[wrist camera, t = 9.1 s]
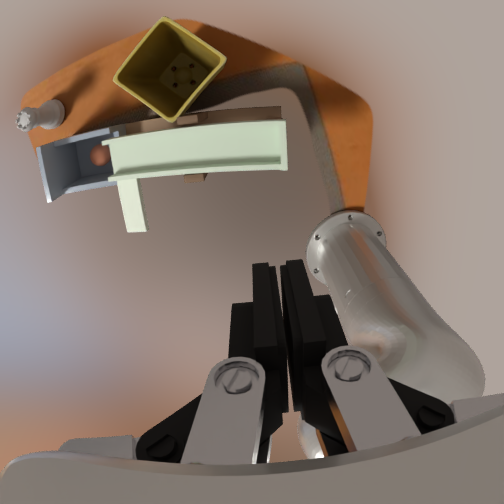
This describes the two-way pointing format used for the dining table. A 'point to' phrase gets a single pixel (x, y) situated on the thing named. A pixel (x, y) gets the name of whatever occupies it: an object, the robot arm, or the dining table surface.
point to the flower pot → (169, 69)
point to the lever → (192, 156)
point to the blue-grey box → (75, 162)
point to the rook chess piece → (41, 116)
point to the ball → (100, 155)
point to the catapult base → (205, 118)
